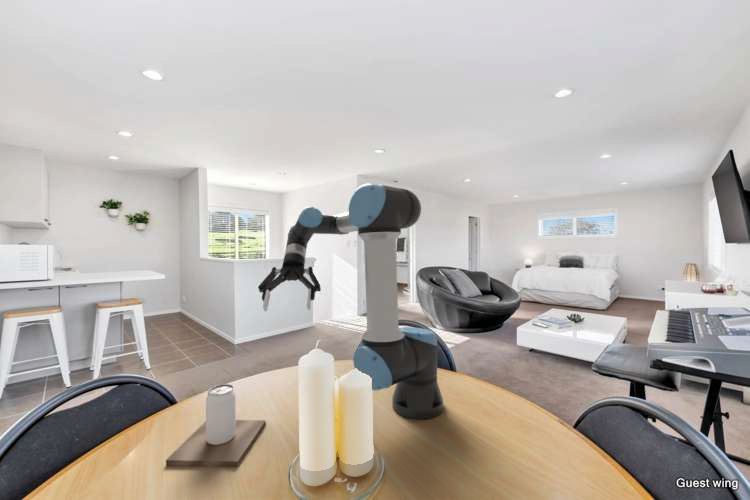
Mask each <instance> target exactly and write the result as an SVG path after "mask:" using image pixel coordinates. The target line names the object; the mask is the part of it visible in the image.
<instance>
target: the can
mask: <svg viewBox="0 0 750 500" xmlns="http://www.w3.org/2000/svg"><path fill="white" fill-rule="evenodd" d="M236 413H237V412H236V391H235V390H234V386H233V384H227V383H225V384H219V385H215V386H213V387H211V388H209V389H207V395H206V397H205V421H206V439H207V442H208V443H209V444H210V445H221V444H224V443H227V442H229V441H230V440H231V439H232V438H233V437H234V436H235V434H236V420H237V418H236Z"/></svg>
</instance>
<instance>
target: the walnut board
mask: <svg viewBox="0 0 750 500" xmlns="http://www.w3.org/2000/svg"><path fill="white" fill-rule="evenodd" d="M265 426H266V420H262V419H261V420H260V419H259V420H257V419H256V420H255V419H247V420H246V419H236V434H235V436H234V437H233V438H232V439H231V440H230V441H229V442H227V443H224V444H221V445H210V444H209V443H208V442H207V439H206V420H205V421H204V422H203V423H202V424H201V425H200V426H199V427H198V428H197V429H196V430H195V431H193V433H192V434H191V435H190V436H189V437H188V438H187V439H186V440H185V441H184V442H183V443H182V444H180V446H178V448H177V449H176V450H175V451H174V452H173V453H172V454H171V455H169V456H168V458H166V460H165V465H166V466H171V467H173V466H175V467H177V466H179V467H181V466H182V467H219V468H220V467H227V468H232V467H233V468H238V467H239V466H240V464H241V463H242V461H243V460H244V459H245V456H246V455H247V453H248V452H249V450H250V449H251V447H252V446H253V444H254V443H255V441H257V438H258V437H259V435H260V434H261V432H262V431H263V429H264V428H265Z"/></svg>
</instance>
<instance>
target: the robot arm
mask: <svg viewBox="0 0 750 500" xmlns="http://www.w3.org/2000/svg"><path fill="white" fill-rule="evenodd" d="M421 204H422V203H421V202H420V199H419V197H418V196H417V195H416V194H415V193H414V192H413V191H412V190H409V189H405V188H399V187H395V186H389V185H384V184H380V183H364V184H362V185H360V186H359V187H357V189H356V190H355V191H354V193H353V194H352V196H351V198H350V201H349V204H348V211H347V212H342V213H338V214H325V213H322V212H321V210H319V209H318V208H315V207H314V206H306V207H305V208H304V209H302V211H301V212H300V214H299V215H298V218H297V220H296V223H295V224H294V225H293V226H291V227H290V229H289V231H288V233H287V239H286V240H287V241H286V246H285V250H284V255H283V262H282V267H281V268H277V267H275V266H273V267H272V268H271V272H270V273H268V275H267V276H266V277H265V278H264V279H263V280H262V282H261V283H260V284H259V285H258V286H257V287H258V288H257V289H258V291H259V293H261V294H262V295H261V299H262V301H263V304H262V308H263V310H264V312H268V307H269V304H270V298H271V292H272V291H273V290H275V289H276V288H277V287H278V286H280V285H281V284H282V283H285V282H286V281H287V282H289V281H297V280H298V281H299V282H300V283H302V284H303V286H305V288H307V289H308V290H307V291H308V294H307V302H306V308H307V311H310V310H311V306H312V301H315V297H316V292H321V290H322V289H321V283H319V280H318V279H317V277H316V275H315V274H314V272H313V266H308V268H305V263H306V256H307V248H308V244H309V242H310V240H311V239H312V237H313V236H314V234H316V235H338V236H339V235H341V236H342V235H348V234H350V233H352V232H358V233H357V234H358V237H359V238H360V239H362V241H363V243H364V244H363V247H364V249H363V250H364V276H365V277H364V278H365V304H366V305H365V307H366V308H365V309H366V330H365V331H364V332H363V333H362V334H361V345H360V346H359V347H358V348H356V349H355V351H354V353H353V358H352V361H353V366H354V369H355V368H357V369H358V370H359V371H361V372H362V373H365V374H367V375H369V376H370V377H371V378H372V390H371V391H381V390H384V389H389V388H390V387H392V386H394V385H395V388H394V391H393V395H392V404H391V405H392V409H393V410H394V411H395V412H396V413H397V414H399V415H401V416H403V417H405V418H409V419H413V420H430V419H432V418H435V417H437V416H439V415H441V413H442V412H443V410H444V399H443V395H442V393H441V389H440V386H439V383H438V339H437V338H438V337H437V334H436V333H435V332H434V331H433V330H431V329H426V328H421V327H414V326H401V327H400V326H399V302H398V295H399V294H398V278H397V277H398V275H397V273H398V272H397V267H398V266H397V246H396V244H397V243H396V240H397V239H398V238H399V237H400V236H401V235H402V229H408V228H410V227H413V226H414V225H415V224H416V223H417V222H418V221H419V219H420V217H421V214H422V213H421V212H422V205H421ZM305 273H306V275H308V276H309V279H310V280H311V281H310V280H309V279H308V278H306V276H304V275H305ZM311 282H312V283H311Z"/></svg>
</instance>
